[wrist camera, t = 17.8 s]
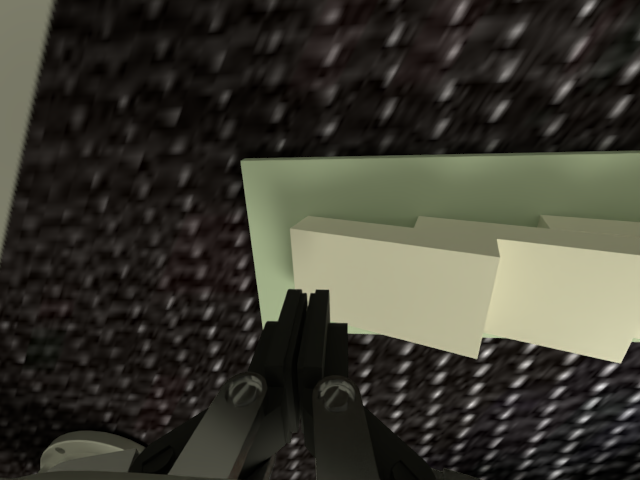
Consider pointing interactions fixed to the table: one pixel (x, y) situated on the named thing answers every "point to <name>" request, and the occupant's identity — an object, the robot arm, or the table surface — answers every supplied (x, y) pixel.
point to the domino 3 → (592, 229)
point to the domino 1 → (399, 279)
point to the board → (425, 197)
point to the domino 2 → (560, 286)
